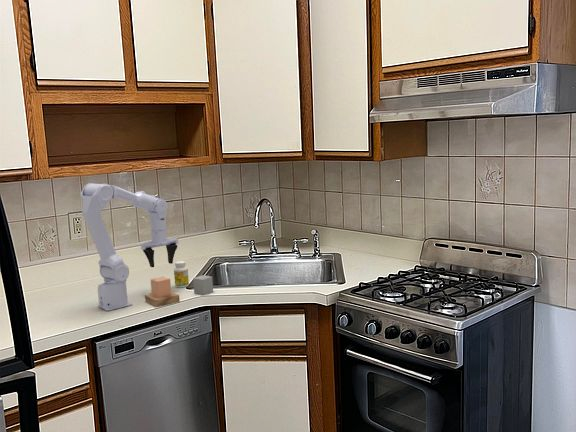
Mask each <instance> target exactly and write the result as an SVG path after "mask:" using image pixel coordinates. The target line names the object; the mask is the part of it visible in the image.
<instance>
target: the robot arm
mask: <svg viewBox="0 0 576 432" xmlns="http://www.w3.org/2000/svg"><path fill="white" fill-rule="evenodd" d="M80 197H81V199H82V200H81V201H82V202H81V205H82V206H81V215H82V216H83V219H84V222H85V224H86V226H87V229H88V231H89V233H90V236H91V239H92V240H93V243H94V245H95V248H96V250H97V253H98V255H99V257H100V259H99V260H98V262H97V263H98V265H99V274H100V276H101V277H102V278H103V281H104V282H103V283H100V284H98V285H97V295H98V307H99V308H101V309H102V310H104V311H106V312H107V311H111V310H116V309H120V308H125V307H129V306H132V305H133V303H131V302H130V301H128V289H127V280H128V278H129V275H130V269H129V266H128V265H126V264H125V262H124V260H123V259H122V257H120V256H119V255H118V254H117V252H116V250H115V246H114V245H113V242H112V240H111V237H110V235H109V232H108V230H107V227H106V225H105V223H104V220H103V217H102V214H101V212H102V211H103V209H105V208H106V207H107V205H108V204H109V203H110V201H111V200H112V199H116V198H117V199H119V200H123V201H127V202H130V203H131V204H132V206H133V207H135V208H138V209H141V210H144V211H146V212H147V213H148V214H149V221H150V236H151V241H149V242H143V243H141V244H140V249H141V250H142V251H143V253H144V254H145V257H146V258H147V261H148V263H149V267H151V268H154V267H155V250H154V248H159V247H166V253H167V261H168V264H170V265H171V264H172V265H173V263H174V257H175V254H176V251H177V249H178V244H179V239H178V238H176V237H174V238H168V233H167V221H166V219H167V211H168V209H169V204H168V203H167V201H166V200H165V199H164V198H158V197H156V195H154V194H151V195H150V194H147V193H146V191H143V190H140V191H136V192H132V191H129V190H127V189H124V188H121V187H119V186H117V185H112V184H108V183H93V182H89V183H87V184H85V185H84V186H83V189H82V191H81V192H80Z"/></svg>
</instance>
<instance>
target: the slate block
mask: <svg viewBox="0 0 576 432" xmlns="http://www.w3.org/2000/svg"><path fill="white" fill-rule="evenodd" d="M192 280H193V283H192V284H193V294H195V295H200V296H206V295H210V294H211V293H214V285H213V276H209V275H204V274H202V275H199V276H196V277H193V278H192Z"/></svg>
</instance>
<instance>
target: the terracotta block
mask: <svg viewBox="0 0 576 432" xmlns="http://www.w3.org/2000/svg"><path fill="white" fill-rule="evenodd" d="M150 288H151V289H150V290H151V294H152V296H154V297H157V298H162V297H166V296H170V295H171V292H172V287H171V278H169V277H165V276H159V277H155V278H151V279H150Z"/></svg>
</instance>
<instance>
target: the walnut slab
mask: <svg viewBox="0 0 576 432" xmlns="http://www.w3.org/2000/svg"><path fill="white" fill-rule="evenodd" d="M144 299H145V303H146V304H148V305H150V306H153V307H155V308H159V307H164V306H167V305H168V306H169V305H172V304H176V303H180V295H179V294H177V293H175V292H173V291H171V295H170V296H166V297H162V298H157V297H154V296H152V293H150V294H145V295H144Z"/></svg>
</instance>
